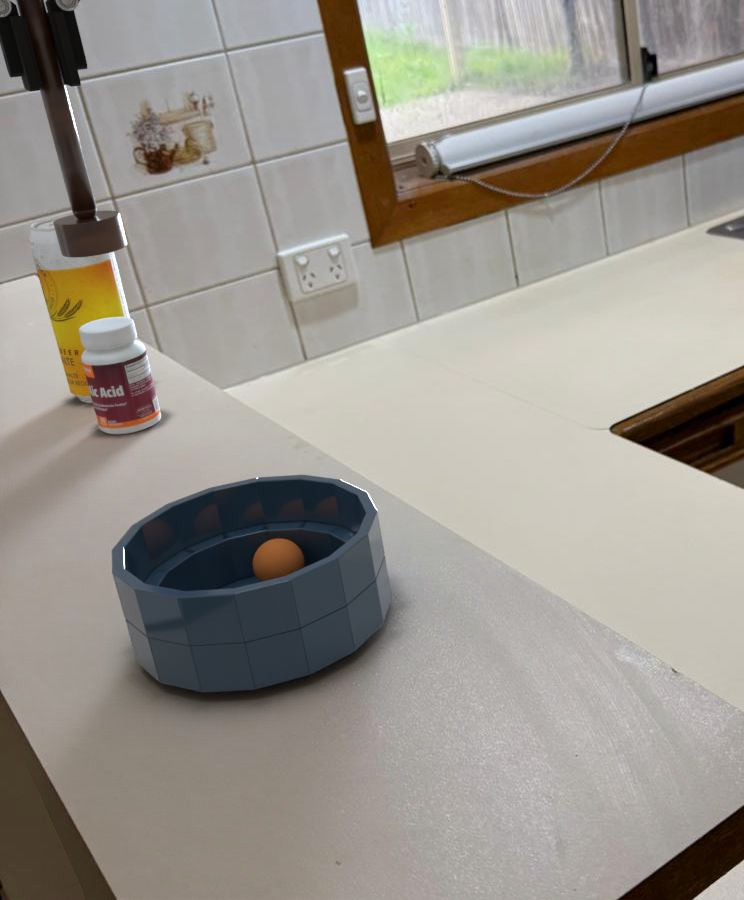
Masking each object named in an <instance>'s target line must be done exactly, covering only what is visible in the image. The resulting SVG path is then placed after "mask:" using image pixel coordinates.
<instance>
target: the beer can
mask: <svg viewBox="0 0 744 900" xmlns="http://www.w3.org/2000/svg"><path fill="white" fill-rule="evenodd" d="M70 215H71V214H66V215H59V216H55V217H49V218H44V219H42V220H41V219H40V220H39V221H36V222H33V223H31V225H30V233H29V238H28V243H29V247H30V251H31V254H32V258H33V262H34V265H35V270H36V272H37V276H38V279H39V283H40V287H41V290H42V294H43V298H44V302H45V305H46V308H47V314H48V316H49V320H50V323H51V327H52V331H53V335H54V337H55V342H56V345H57V349H58V352H59V356H60V359H61V364H62V368H63V370H64V375H65V377H66V382H67V384H68V389H69V392H70V393H71V394H72V395H74V396H76V397H77V398H78V399H79V401H80V402H83V403H86V404H93V402H92V399H91V395H90V391H89V387H88V383H87V380H86V376H85V372H84V368H83V364H82V360H81V356H82V353H83V352H84V351H85V350H86V349H87V348H84V347H83V344H82V343H81V338H80V333H79V328H80V327H81V326H82V325H84V324H86V323H89V322H91V321H95V320H99V319H104V318H110V317H128V318H131V316H130V313H129V307H128V303H127V299H126V295H125V291H124V287H123V283H122V278H121V275H120V270H119V267H118V263H117V259H116V255H115V251H114V252H111V253H106V254H102V255H96V256H89V257H65V256H63V255H62V253H61V250H60V246H59V242H58V239H57V235H56V231H55V228H54V224H53V222H54V221H55V220H57V219H60V218H63V217H66V216H70Z"/></svg>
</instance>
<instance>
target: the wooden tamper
mask: <svg viewBox="0 0 744 900" xmlns="http://www.w3.org/2000/svg"><path fill="white" fill-rule="evenodd" d="M15 1H16V6H17V10H18V13H19V16H21V18H25V20H26V24H27V27H28V31H29V35H30V39H31V43H32V46H33V50H34V54H35V58H36V62H37V65H38V69H39V73H40V77H41V81H42V85H43V88H40V90H39V91H40V95H41V99H42V103H43V107H44V111H45V114H46V118H47V122H48V126H49V129H50V134H51V137H52V140H53V144H54V148H55V152H56V155H57V159H58V163H59V167H60V171H61V174H62V178H63V183H64V186H65V189H66V193H67V198H68V201H69V204H70V208H71V212H72V214H69V215H70V216H66V217H63V218H60V219H57V220H55V221H54V222H53V224H54V228H55V231H56V235H57V239H58V242H59V246H60V250H61V253H62V255H63V256H65V257H89V256H96V255H102V254H106V253H111V252H114V253H115V252H117V251H120V250H122V249H125V248H126V247H127V246H128V241H127V237H126V234H125V229H124V225H123V221H122V217H121V213H120V211H117V210H98V207H97V202H96V199H95V195H94V191H93V187H92V184H91V179H90V175H89V172H88V168H87V164H86V160H85V155H84V153H83V148H82V144H81V139H80V137H79V134H78V129H77V126H76V125H77V124H76V121H75V117H74V114H73V109H72V106H71V102H70V98H69V94H68V90H67V85H66V84H65V83H64V79H63V76H62V72H61V68H60V64H59V60H58V56H57V52H56V48H55V44H54V41H53V37H52V33H51V29H50V25H49V21H48V17H47V12H48V11H47V7H46V3H45V1H44V0H15Z"/></svg>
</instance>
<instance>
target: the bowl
mask: <svg viewBox="0 0 744 900" xmlns="http://www.w3.org/2000/svg"><path fill="white" fill-rule="evenodd" d="M278 538H281V539H287V540H290V541H292V542H293V543H295V544H296V545H297V546H298V547H299V548H300V550H301V551H302V553H303V556H304V562H305V563H304V568H302V569H300V570H298V571H296V572H293V573H291V574H289V575H287V576H283V577H279V578H275V579H271V580H267V581H263V582H260V581H259V580H258V579H257V577H256V575H255V573H254V570H253V558H254V555H255V553H256V551H257V550H258V548H259V547H260V546H261V545H262V544H264V543H265V542H267V541H269V540H272V539H278ZM386 559H387V558H386V554H385V548H384V541H383V536H382V531H381V525H380V519H379V512H378V509H377V507H376V506H375V504H374V502H373V500H372V498H371V495H370V494H369V493H368V491H366V490H364V489H362V488H360V487H358V486H356V485H353V484H352V483H349V482H347V481H346V480H343V479H340V478H333V477H324V476H316V475H310V474H291V475H289V474H288V475H275V476H260V477H259V476H258V477H253V478H248V479H244V480H238V481H235V482H229V483H224V484H221V485H215V486H210V487H208V488H205V489H203V490H200V491H198V492H194V493H192V494H189V495H186V496H184V497H182V498H179V499H176V500H174V501H171V502H168V503H166V504H164V505H162V506H161V507H159V508H158V509H156V510H154V511H153V512H151V513H149V514H148V515H146V516H145V517H143V518H141V519H140V520H138V521H137V522H135V523H133V524H132V525H131V526H130V527H129V528H128V530H127V531H126V532H125V534H123V536H122V537H121V538H120V539H119V540H118V542H117V543H116V544H115V545H114V546H113V547H112V549H111V575H112V577H113V581H114V584H115V588H116V591H117V595H118V599H119V602H120V607H121V609H122V613H123V616H124V619H125V623H126V627H127V631H128V635H129V638H130V641H131V645H132V649H133V652H134V656H135V659H136V662H137V664H138V665H139V666H140V667H141V668H142V669H143V670H144V671H146V673H148V674H149V675H151V677H153V679H155V680H156V681H158V683H160V684H162V685H168V686H172V687H177V688H180V689H186V690H190V691H194V692H199V693H219V692H220V693H221V692H239V691H254V690H259V689H262V688H267V687H272V686H275V685H280V684H284V683H287V682H290V681H293V680H296V679H299V678H303V677H306V676H309V675H313V674H314V673H317V672H319V671H320V670H322V669H324V668H326V667H328V666H330V665H332V664H334V663H336V662H338V661H340V660H341V659H343V658H345V657H348V656H349V655H352V654H353V653H354V652H356V651H358V649H359V648H360V647H361V646H362V645H363V644H364V643H365V642H367V641H368V640H369V638H371V637H372V636H373V635H374V634H375V633H376V632H377V631H378V630H379V629H380V628H381V627H382V626H383V624H384V623H385V622H384V621H385V619H386V616H387V613H388V610H389V608H390V605H391V602H392V598H393V596H392V589H391V585H390V584H391V583H390V578H389V571H388V565H387V560H386Z"/></svg>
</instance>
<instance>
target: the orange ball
mask: <svg viewBox="0 0 744 900" xmlns="http://www.w3.org/2000/svg"><path fill="white" fill-rule="evenodd" d="M304 563H305V562H304V556H303V553H302V551H301V550H300V548H299V547H298V546H297V545H296V544H295V543H293V542H292V541H290V540H287V539H281V538H278V539H272V540H269V541H267V542H265V543H264V544H262V545H261V546H260V547H259V548H258V550H257V551H256V553H255V555H254V558H253V570H254V573H255V575H256V577H257V579H258V580H259V581H260V582H263V581H267V580H271V579H275V578H279V577H283V576H287V575H289V574H291V573H293V572H296V571H298V570H300V569H302V568H304Z"/></svg>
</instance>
